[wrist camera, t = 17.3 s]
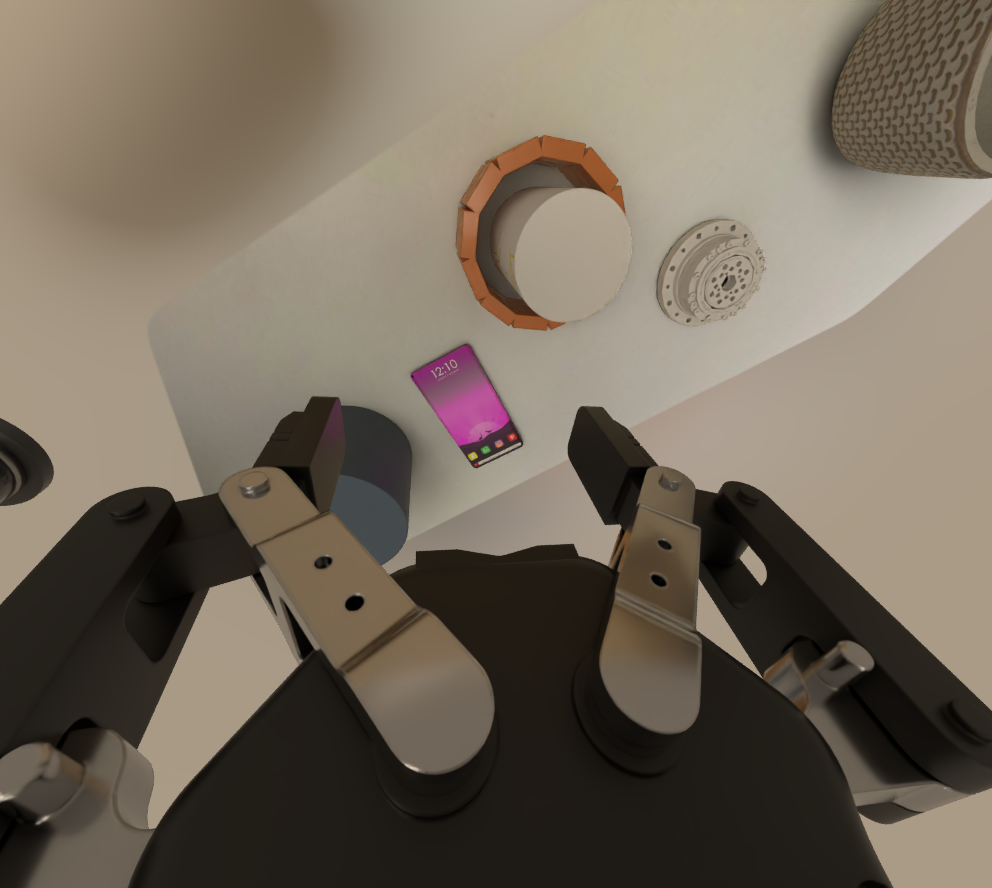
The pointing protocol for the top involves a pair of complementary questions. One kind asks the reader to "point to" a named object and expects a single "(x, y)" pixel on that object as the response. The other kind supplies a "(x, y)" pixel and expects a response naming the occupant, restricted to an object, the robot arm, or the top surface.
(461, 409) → the smartphone
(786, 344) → the top surface
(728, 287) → the mechanical component
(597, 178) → the ring
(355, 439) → the stand
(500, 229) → the white patterned cylinder
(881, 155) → the planter
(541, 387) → the top surface
